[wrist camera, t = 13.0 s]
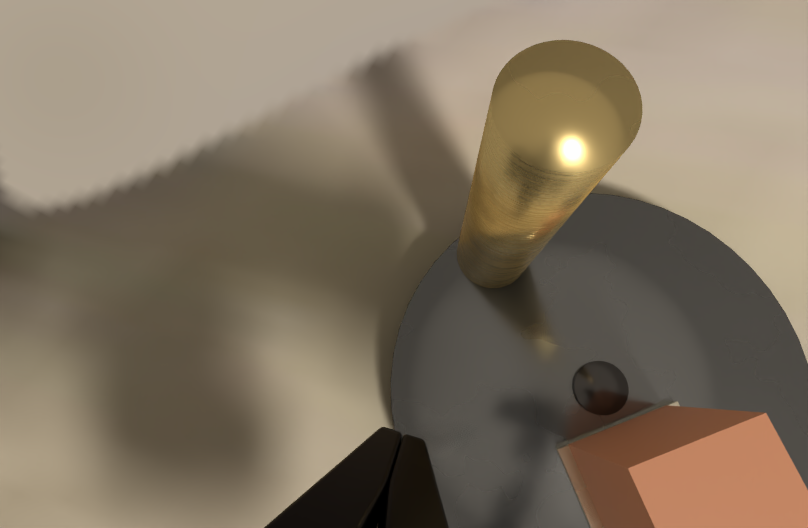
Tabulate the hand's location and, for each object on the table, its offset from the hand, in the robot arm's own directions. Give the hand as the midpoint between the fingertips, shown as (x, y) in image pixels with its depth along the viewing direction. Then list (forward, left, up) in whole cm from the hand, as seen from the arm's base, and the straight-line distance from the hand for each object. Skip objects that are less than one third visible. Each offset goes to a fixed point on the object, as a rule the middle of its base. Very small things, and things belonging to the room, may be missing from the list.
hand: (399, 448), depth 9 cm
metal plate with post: (+6, -3, -10) cm, 12 cm away
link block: (+5, -7, -8) cm, 12 cm away
